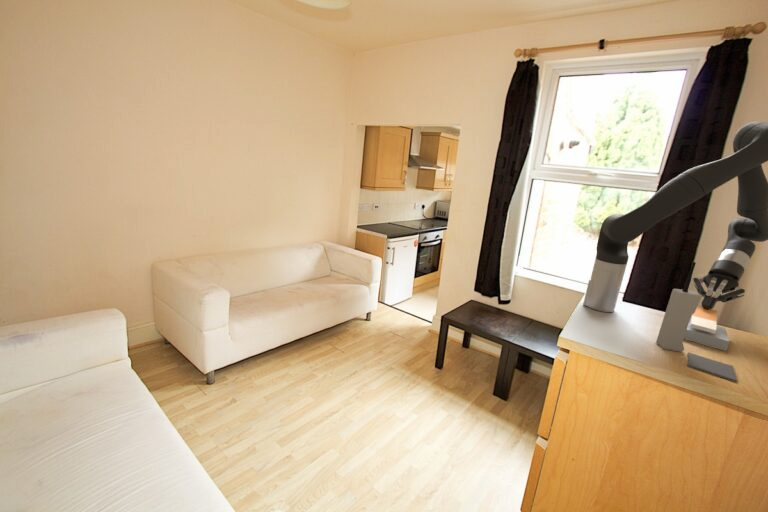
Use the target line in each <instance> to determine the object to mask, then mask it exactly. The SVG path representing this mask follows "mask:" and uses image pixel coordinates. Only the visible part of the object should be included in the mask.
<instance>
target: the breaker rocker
mask: <svg viewBox="0 0 768 512" xmlns="http://www.w3.org/2000/svg"><path fill="white" fill-rule="evenodd" d="M717 316H718V310H715V309H709V310H707V309H704V308H703V307H702V306H700V305H698V306H697V308H696V311H695V312H694V313H693V314H692V315H691V318H690V319H691V322H690V327H692V328H696V329H700V330H703V331H707V332H711V333H714V334H715V333H716V326H718V325H717V320H718V319H717V318H718V317H717Z"/></svg>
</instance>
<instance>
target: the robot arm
mask: <svg viewBox="0 0 768 512" xmlns="http://www.w3.org/2000/svg"><path fill="white" fill-rule="evenodd" d="M732 140H733V141H732V149H733V150H732V151H733V154H731V155H728V156H726V157H723V158H721V159H718V160H714V161H711V162H707V163H704V164H701V165H700V164H699V165H697V166H694V167H692V168H689V169H687V170H685V171H683V172H682V173H680V174H678V175H677V176H675V177H673V178H672V179H670V180H669V181H667V182H666V183H665V184H664V185H662V186H661V187H660V188H658V190H657V191H656V192H655V193H653V195H652V196H651V197H650V198H649V199H648V200H647V201H646V202H644V203H643V204H641V205H639V206H638V207H637V208H635V209H633V210H631V211H629V212H627V213H624V214H623V213H612V214H610V215H608V216H607V217H606V218H604V220H603V222H602V223H601V227H600V230H599V234H598V238H597V243H596V256H595V259H594V265H593V269H592V270H591V271H592V272H591V274H590V275H591V276H590V279H589V280H588V283H587V286H586V291H585V295H584V299H583V303H582V305H583V306H586V307H587V308H590V309H592V310H595V311H598V312H605V313H613V312H614V311H615V310H616V309H615V308H616V307H617V302H618V297H619V294H620V289H621V287H622V282H623V280H624V275H625V272H626V269H627V265H628V261H629V254H628V247H629V246H628V245H629V243H630V242H633V241H635V240H636V239H637V238H639V237H640V236H641V235H643V234H644V233H645V232H647V231H648V230H649V229H651V228H652V227H654V226H656V224H658V223H660V222H661V221H662V220H665V219H666V218H668V217H670V216H672V215H674V214H676V213H677V212H679V211H680V210H682V209H684V208H686V207H687V206H689V205H691V204H693V203H695V202H696V201H698V200H700V199H702V198H703V197H704V196H706V195H707V194H709V193H710V192H712V191H714V190H716V189H717V188H719V187H721V186H723V185H725V184H727V183H728V182H729V181H732V180H733V179H735V178H737V185H738V186H737V189H738V191H737V201H736V213H737V215H738V216H739V217H743V218H735V219H733V220H731V221H730V223H729V224H728V228H727V239H726V242H725V245H724V246H723V248H722V250H721V251H720V253H719V254H718V255H717V257H716V258H715V260H714V261H713V264H712V265H711V267H710V269H709V271H708V272H707V273H706V274H705V275H704V276H703V277H702V278H698V277H693V278H692V283H693V285H694V287H695V290H696V291H697V293H698V294H700V295H702V297H701V298H703V299H702V301H701V307H703V308H704V309H707V310H709V309H712V310H714V307H715V306H716V303H718V302H722V303H726V302H730V301H732V300H733V301H734V300H736V299H739V298H742V297H744V296H745V294H746V293H745V292H746V291H745V289H744V288H740V281H741V279H742V277H743V275H744V273H745V272H746V271H747V267H748V266H749V264H750V263H749V262H750V260H751V258H752V256H753V255H754V253H755V251H756V244H755V242H757V243H759V242H762V243H763V242H766V241H768V179H767V177H766V175H765V172H764V169H763V164H764V163H767V162H768V122H765V121H752V122H748V123H746V124H745V125H742V127H740V128H739V129H738V130H737V132H736V133H735V135H734V136H733V139H732ZM703 284H704V285H705V287H706V289H707V290H705V288H704V287H703Z"/></svg>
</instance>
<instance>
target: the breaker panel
mask: <svg viewBox="0 0 768 512" xmlns="http://www.w3.org/2000/svg"><path fill="white" fill-rule="evenodd" d="M690 322H691V318H690V321H689V324H688V327H687V330H686V333H685V336H684V339H683V340H687V341H690V342H694V343H697V344H701V345H704V346H708V347H711V348H714V349H717V348H718V350H721V351H723V352H726V351H727V349H728V347H729V344H730V338H729V336H728V332H727V329H726V327H724V326H720V325H717V326H716V333H715V334H714V333H711V332H707V331H703V330H700V329H696V328H692V327H690Z"/></svg>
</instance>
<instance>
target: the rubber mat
mask: <svg viewBox="0 0 768 512" xmlns="http://www.w3.org/2000/svg"><path fill="white" fill-rule="evenodd" d="M686 355H687V356H686V357H687V367H689V368H692V369H695V370H697V371H700V372H703V373H707V374H709V373H710V374H709V375H712V374H713V376H715V375H716V377H719V378H722V377H723V378H722V379H725V380H728V381H730V382H731V381H732V382H734V383H737V381H738V380H737V375H736V372H735V368H734V365H730V364H727V363H724V362H721V361H719V360H714V359H711V358H708V357H705V356H701V355H698V354H695V353H691V352H687V354H686Z"/></svg>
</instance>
